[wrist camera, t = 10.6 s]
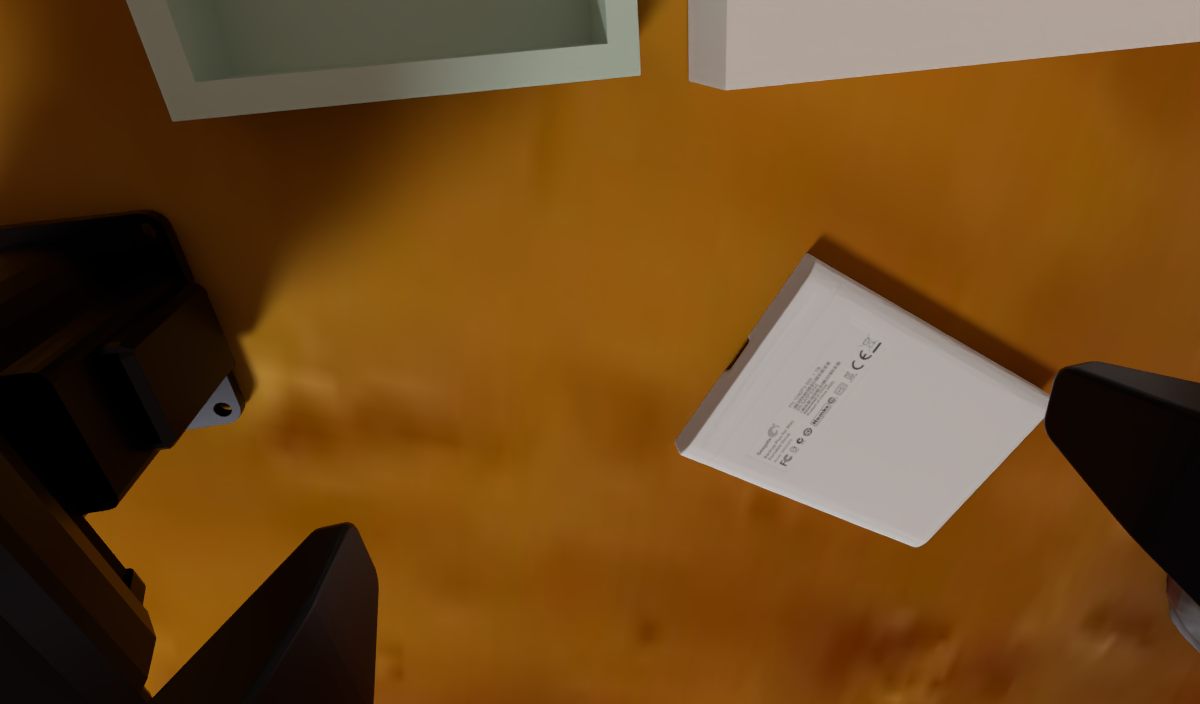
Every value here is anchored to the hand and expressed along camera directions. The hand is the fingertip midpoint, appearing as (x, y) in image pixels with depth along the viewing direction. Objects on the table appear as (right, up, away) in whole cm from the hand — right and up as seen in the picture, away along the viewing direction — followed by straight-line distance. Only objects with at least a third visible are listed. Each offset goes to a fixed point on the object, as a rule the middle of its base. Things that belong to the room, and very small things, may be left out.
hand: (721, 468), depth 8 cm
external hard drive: (+8, -1, +17) cm, 19 cm away
